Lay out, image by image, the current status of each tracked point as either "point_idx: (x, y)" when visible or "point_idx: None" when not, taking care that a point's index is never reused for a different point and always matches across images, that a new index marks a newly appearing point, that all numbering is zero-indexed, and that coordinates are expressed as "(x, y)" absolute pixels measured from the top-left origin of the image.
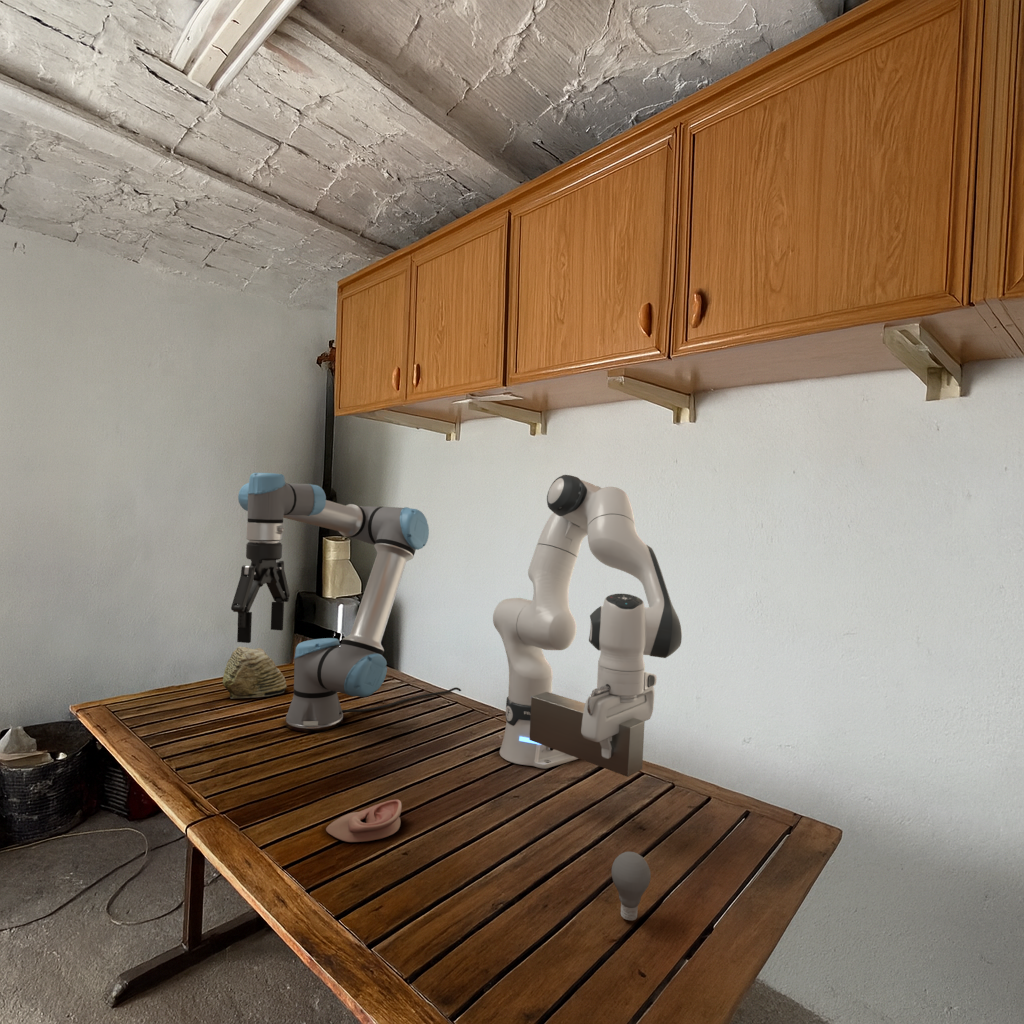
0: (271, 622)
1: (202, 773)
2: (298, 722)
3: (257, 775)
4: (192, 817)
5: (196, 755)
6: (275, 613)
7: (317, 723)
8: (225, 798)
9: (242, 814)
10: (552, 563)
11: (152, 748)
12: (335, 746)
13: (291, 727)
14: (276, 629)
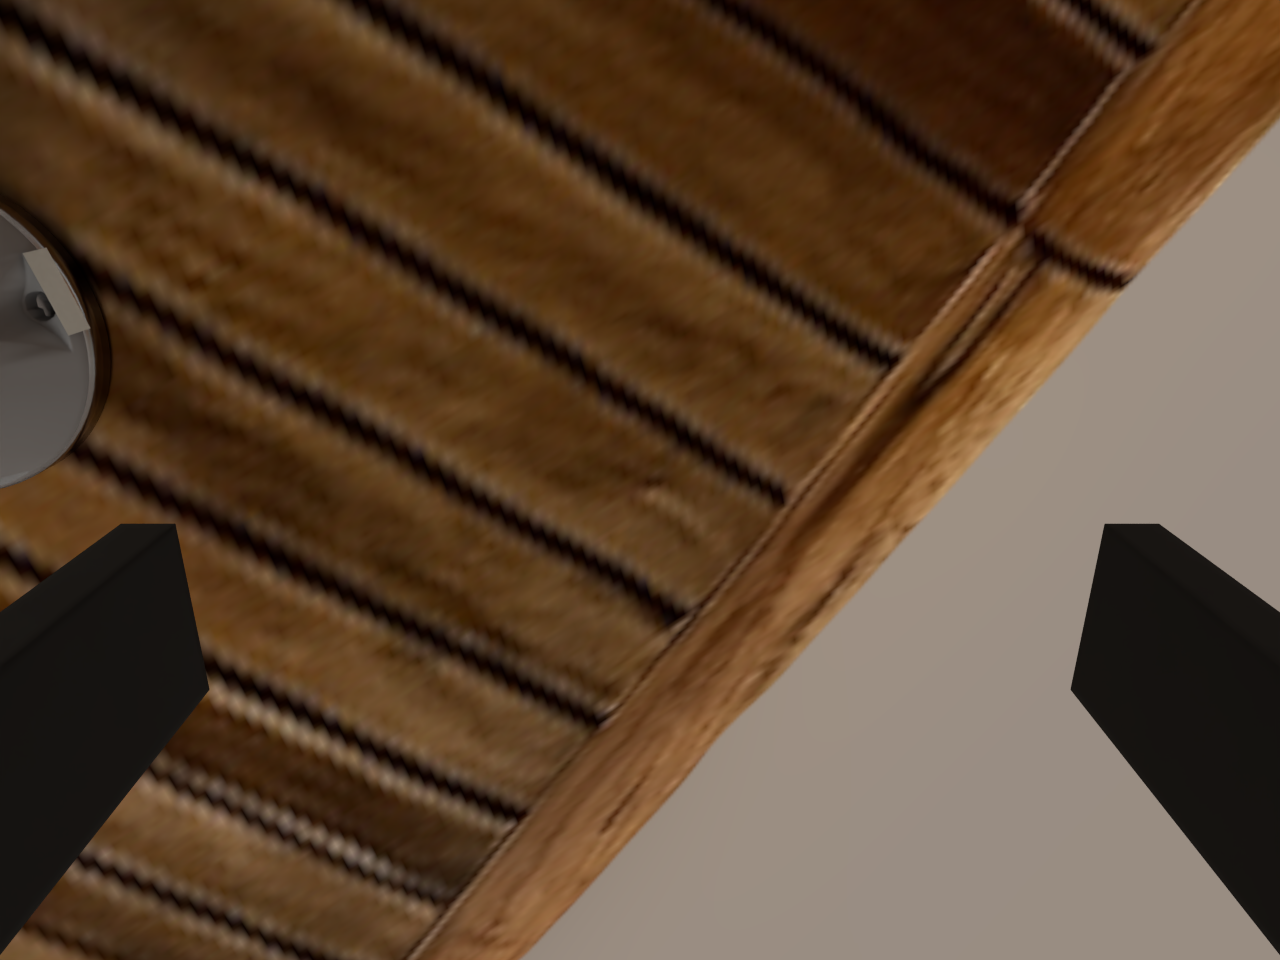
0: (149, 755)
1: (688, 506)
2: (79, 364)
3: (650, 270)
4: (1059, 311)
5: (534, 629)
6: (16, 821)
7: (37, 253)
8: (888, 279)
9: (1019, 121)
10: None
11: (526, 809)
12: (195, 46)
13: (100, 400)
14: (184, 608)
